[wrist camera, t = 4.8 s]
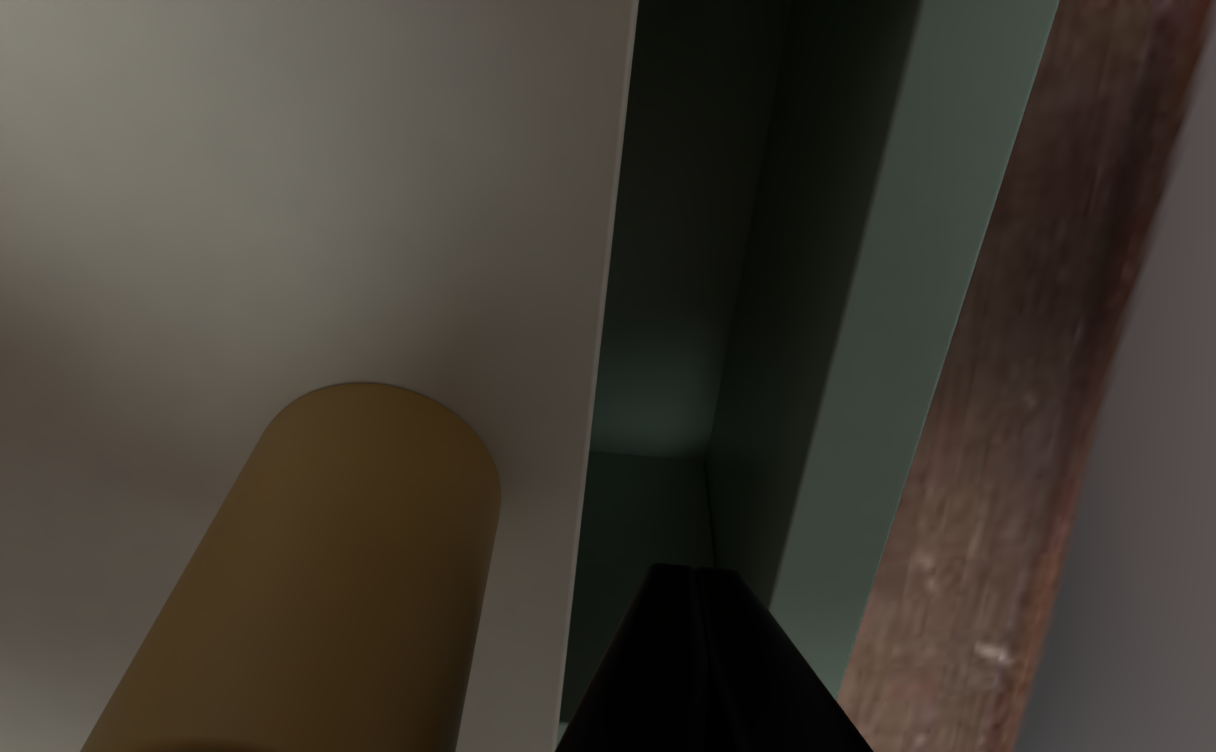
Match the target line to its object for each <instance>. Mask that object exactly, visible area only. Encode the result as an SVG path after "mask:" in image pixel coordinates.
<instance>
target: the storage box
mask: <svg viewBox="0 0 1216 752" xmlns="http://www.w3.org/2000/svg"><path fill="white" fill-rule="evenodd" d="M1059 2H1060V0H639V4H638V13H637V23H636V32H635V41H634V50H633V59H632V68H631V77H630V86H629V95H628V104H627V113H626V122H625V131H624V140H623V149H622V158H621V167H620V176H619V185H618V194H617V203H616V212H615V221H614V230H613V239H612V248H611V257H610V266H609V275H608V284H607V294H606V303H605V312H604V321H603V330H602V339H601V348H600V357H599V366H598V375H597V384H596V393H595V402H594V411H593V420H592V429H591V438H590V447H589V456H588V465H587V474H586V483H585V492H584V501H583V510H582V519H581V528H580V537H579V546H578V555H577V565H576V574H575V583H574V592H573V601H572V610H571V619H570V628H569V637H568V646H567V655H566V664H565V673H564V682H563V691H562V700H561V709H560V718H559V727H558V736H557V745H556V748H557V746H558V744H559V742H560V740H561V738H562V736H563V734H564V732H565V730H566V728H567V726H568V724H569V722H570V720H571V718H572V716H573V714H574V712H575V710H576V708H577V706H578V704H579V702H580V700H581V698H582V696H583V694H584V692H585V690H586V688H587V686H588V684H589V682H590V680H591V678H592V676H593V674H594V672H595V670H596V669H597V667H598V665H599V663H600V661H601V659H602V657H603V655H604V653H605V651H606V649H607V647H608V645H609V643H610V641H611V639H612V637H613V635H614V633H615V631H616V629H617V627H618V625H619V623H620V621H621V619H622V617H623V615H624V613H625V611H626V609H627V607H628V605H629V603H630V601H631V599H632V597H633V595H634V593H635V591H636V589H637V587H638V585H639V583H640V581H641V579H642V577H643V575H644V573H645V571H646V570H647V568H648V567H649V566H650V565H651V564H653V563H668V564H679V565H689V566H691V567H693V568H694V569H695V568H697V567H701V566H702V567H713V568H725V569H734V570H737V571H738V572H740V573H741V574H742V575H743V576H744V577H745V579H746V580H747V581H748V583H749V584H750V585H751V587H752V588H753V589H754V591H755V592H756V593H757V595H758V596H759V597H760V599H761V600H762V602H763V603H764V604H765V606H766V607H767V608H768V610H769V611H770V612H771V614H772V615H773V616H774V618H775V619H776V620H777V622H778V623H779V625H780V626H781V627H782V629H783V630H784V631H785V633H786V634H787V635H788V637H789V638H790V639H791V641H792V642H793V643H794V645H795V646H796V647H797V649H798V650H799V652H800V653H801V654H802V656H803V657H804V658H805V660H806V661H807V662H808V664H809V665H810V666H811V668H812V669H813V670H814V672H815V673H816V675H817V676H818V677H819V679H820V680H821V681H822V683H823V684H824V685H825V687H826V688H827V689H828V691H829V692H830V693H831V695H832V696H833V698H834V699H835V700H836V699H837V696H838V693H839V690H840V687H841V683H842V680H843V677H844V674H845V671H846V668H847V665H848V662H849V658H850V655H851V652H852V649H853V646H854V643H855V640H856V637H857V633H858V630H859V627H860V624H861V621H862V618H863V615H864V611H865V608H866V605H867V602H868V599H869V596H870V593H871V590H872V586H873V583H874V580H875V577H876V574H877V571H878V568H879V565H880V561H881V558H882V555H883V552H884V549H885V546H886V543H887V540H888V536H889V533H890V530H891V527H892V524H893V521H894V518H895V515H896V511H897V508H898V505H899V502H900V499H901V496H902V493H903V490H904V486H905V483H906V480H907V477H908V474H909V471H910V468H911V464H912V461H913V458H914V455H915V452H916V449H917V446H918V443H919V439H920V436H921V433H922V430H923V427H924V424H925V421H926V418H927V414H928V411H929V408H930V405H931V402H932V399H933V396H934V393H935V389H936V386H937V383H938V380H939V377H940V374H941V371H942V368H943V364H944V361H945V358H946V355H947V352H948V349H949V346H950V342H951V339H952V336H953V333H954V330H955V327H956V324H957V321H958V317H959V314H960V311H961V308H962V305H963V302H964V299H965V296H966V292H967V289H968V286H969V283H970V280H971V277H972V274H973V271H974V267H975V264H976V261H977V258H978V255H979V252H980V249H981V246H982V242H983V239H984V236H985V233H986V230H987V227H988V224H989V221H990V217H991V214H992V211H993V208H994V205H995V202H996V199H997V195H998V192H999V189H1000V186H1001V183H1002V180H1003V177H1004V174H1005V170H1006V167H1007V164H1008V161H1009V158H1010V155H1011V152H1012V149H1013V145H1014V142H1015V139H1016V136H1017V133H1018V130H1019V127H1020V124H1021V120H1022V117H1023V114H1024V111H1025V108H1026V105H1027V102H1028V99H1029V95H1030V92H1031V89H1032V86H1033V83H1034V80H1035V77H1036V74H1037V70H1038V67H1039V64H1040V61H1041V58H1042V55H1043V52H1044V48H1045V45H1046V42H1047V39H1048V36H1049V33H1050V30H1051V27H1052V23H1053V20H1054V17H1055V14H1056V11H1057V8H1058V5H1059Z"/></svg>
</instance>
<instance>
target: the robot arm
mask: <svg viewBox="0 0 1216 752" xmlns="http://www.w3.org/2000/svg"><path fill="white" fill-rule="evenodd" d="M555 752H873V750H872V749H871V748H870V746H869V745H868V744H867V742H866V741H865V739H864V738H863V737H862V735H861V734H860V733H859V731H858V730H857V729H856V727H855V726H854V725H853V723H852V722H851V721H850V719H849V718H848V716H847V715H846V714H845V712H844V711H843V710H842V708H841V707H840V706H839V704H838V703H837V702H836V700H835V699H834V698H833V696H832V695H831V693H830V692H829V691H828V689H827V688H826V687H825V685H824V684H823V683H822V681H821V680H820V679H819V677H818V676H817V675H816V673H815V672H814V670H813V669H812V668H811V666H810V665H809V664H808V662H807V661H806V660H805V658H804V657H803V656H802V654H801V653H800V652H799V650H798V649H797V647H796V646H795V645H794V643H793V642H792V641H791V639H790V638H789V637H788V635H787V634H786V633H785V631H784V630H783V629H782V627H781V626H780V625H779V623H778V622H777V620H776V619H775V618H774V616H773V615H772V614H771V612H770V611H769V610H768V608H767V607H766V606H765V604H764V603H763V602H762V600H761V599H760V597H759V596H758V595H757V593H756V592H755V591H754V589H753V588H752V587H751V585H750V584H749V583H748V581H747V580H746V579H745V577H744V576H743V575H742V574H741V573H740V572H738V571H737V570H734V569H725V568H713V567H702V566H701V567H697V568H695V569H694V568H693V567H691V566H689V565H679V564H668V563H653V564H651V565H650V566H649V567H648V568H647V570H646V571H645V573H644V575H643V577H642V579H641V581H640V583H639V585H638V587H637V589H636V591H635V593H634V595H633V597H632V599H631V601H630V603H629V605H628V607H627V609H626V611H625V613H624V615H623V617H622V619H621V621H620V623H619V625H618V627H617V629H616V631H615V633H614V635H613V637H612V639H611V641H610V643H609V645H608V647H607V649H606V651H605V653H604V655H603V657H602V659H601V661H600V663H599V665H598V667H597V669H596V670H595V672H594V674H593V676H592V678H591V680H590V682H589V684H588V686H587V688H586V690H585V692H584V694H583V696H582V698H581V700H580V702H579V704H578V706H577V708H576V710H575V712H574V714H573V716H572V718H571V720H570V722H569V724H568V726H567V728H566V730H565V732H564V734H563V736H562V738H561V740H560V742H559V744H558V746H557V748H556V750H555Z"/></svg>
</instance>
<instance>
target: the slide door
mask: <svg viewBox="0 0 1216 752" xmlns="http://www.w3.org/2000/svg"><path fill="white" fill-rule="evenodd" d="M638 4H639V0H0V752H555V750H556V745H557V736H558V727H559V718H560V709H561V700H562V691H563V682H564V673H565V664H566V655H567V646H568V637H569V628H570V619H571V610H572V601H573V592H574V583H575V574H576V565H577V555H578V546H579V537H580V528H581V519H582V510H583V501H584V492H585V483H586V474H587V465H588V456H589V447H590V438H591V429H592V420H593V411H594V402H595V393H596V384H597V375H598V366H599V357H600V348H601V339H602V330H603V321H604V312H605V303H606V294H607V284H608V275H609V266H610V257H611V248H612V239H613V230H614V221H615V212H616V203H617V194H618V185H619V176H620V167H621V158H622V149H623V140H624V131H625V122H626V113H627V104H628V95H629V86H630V77H631V68H632V59H633V50H634V41H635V32H636V23H637V13H638Z"/></svg>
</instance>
